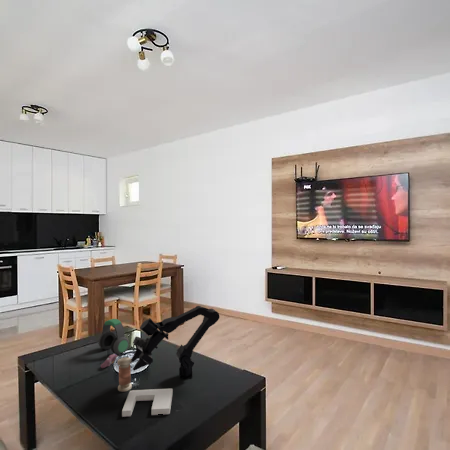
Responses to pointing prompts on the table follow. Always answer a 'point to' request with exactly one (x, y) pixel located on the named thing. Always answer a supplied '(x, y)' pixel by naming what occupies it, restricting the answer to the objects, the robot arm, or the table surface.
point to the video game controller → (109, 361)
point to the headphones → (113, 337)
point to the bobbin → (124, 374)
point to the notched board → (158, 395)
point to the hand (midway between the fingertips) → (132, 365)
